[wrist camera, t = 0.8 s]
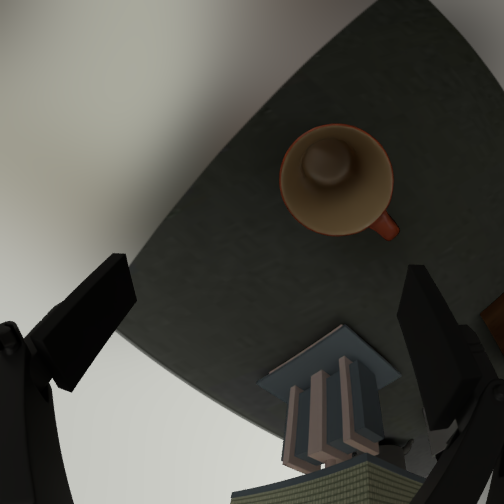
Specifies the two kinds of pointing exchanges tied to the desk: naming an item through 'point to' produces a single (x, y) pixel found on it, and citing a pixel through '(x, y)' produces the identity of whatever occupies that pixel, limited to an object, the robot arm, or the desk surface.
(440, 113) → the desk surface
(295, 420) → the desk lamp
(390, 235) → the mug
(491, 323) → the plinth
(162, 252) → the desk surface
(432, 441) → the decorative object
